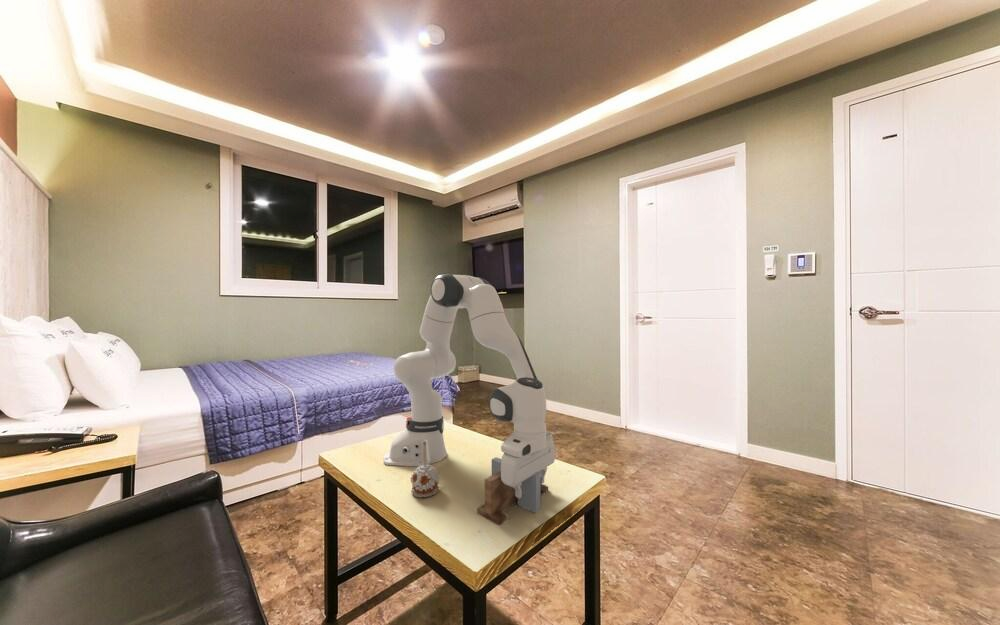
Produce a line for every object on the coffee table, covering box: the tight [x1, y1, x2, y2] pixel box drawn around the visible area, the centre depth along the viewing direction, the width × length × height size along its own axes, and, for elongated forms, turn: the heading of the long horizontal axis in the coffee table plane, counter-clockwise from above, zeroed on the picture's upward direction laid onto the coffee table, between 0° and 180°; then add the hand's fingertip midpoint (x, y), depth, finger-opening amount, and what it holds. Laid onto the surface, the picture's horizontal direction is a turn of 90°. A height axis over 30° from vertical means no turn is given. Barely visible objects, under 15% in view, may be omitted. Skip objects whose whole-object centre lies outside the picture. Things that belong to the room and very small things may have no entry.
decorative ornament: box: [410, 442, 440, 498], centre depth 106 cm, size 8×8×15 cm
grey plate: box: [491, 457, 541, 514], centre depth 100 cm, size 16×2×10 cm, turn 49°
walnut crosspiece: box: [476, 471, 549, 526], centre depth 100 cm, size 22×8×10 cm, turn 139°
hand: (530, 489), depth 97 cm, fingers open, 8 cm apart
